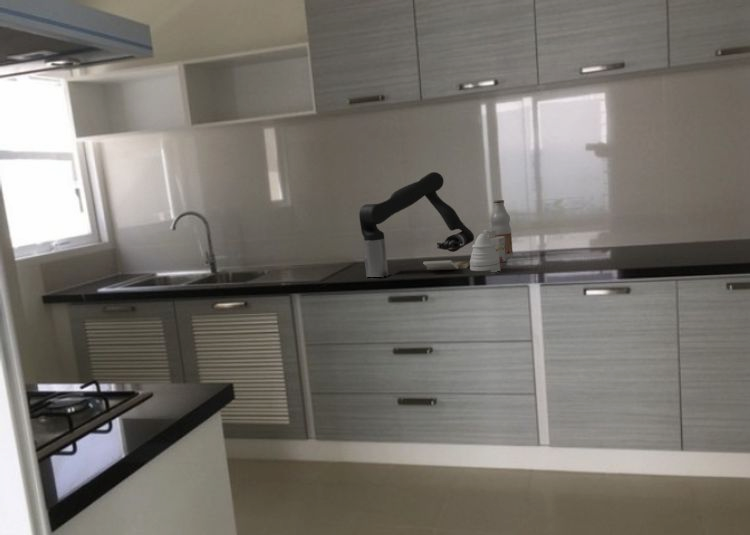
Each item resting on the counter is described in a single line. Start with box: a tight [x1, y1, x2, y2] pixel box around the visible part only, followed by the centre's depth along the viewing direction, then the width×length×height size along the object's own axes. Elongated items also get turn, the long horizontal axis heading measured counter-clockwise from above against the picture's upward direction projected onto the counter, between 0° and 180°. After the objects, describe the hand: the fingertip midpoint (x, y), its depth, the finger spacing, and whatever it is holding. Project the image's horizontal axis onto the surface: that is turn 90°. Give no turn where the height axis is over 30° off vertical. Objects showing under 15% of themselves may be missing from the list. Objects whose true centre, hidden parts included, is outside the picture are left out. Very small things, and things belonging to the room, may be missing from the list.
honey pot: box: [469, 229, 501, 273], centre depth 281 cm, size 13×13×18 cm
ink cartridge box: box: [488, 231, 507, 264], centre depth 304 cm, size 9×5×15 cm, turn 150°
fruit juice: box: [490, 199, 514, 260], centre depth 314 cm, size 9×9×28 cm
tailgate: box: [423, 259, 460, 271], centre depth 284 cm, size 12×1×15 cm
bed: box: [426, 260, 470, 271], centre depth 296 cm, size 18×11×3 cm, turn 69°
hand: (445, 247), depth 291 cm, fingers closed
